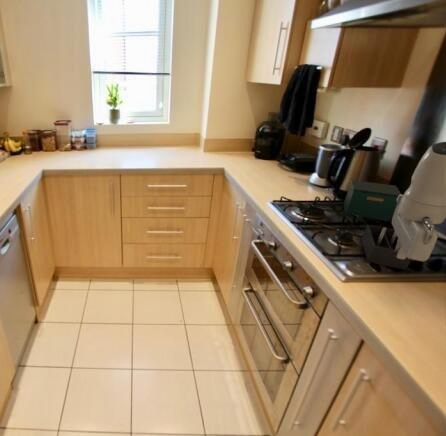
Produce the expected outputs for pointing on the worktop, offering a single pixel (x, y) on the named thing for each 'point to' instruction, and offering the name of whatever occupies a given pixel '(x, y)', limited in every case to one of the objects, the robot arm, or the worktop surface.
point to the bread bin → (371, 200)
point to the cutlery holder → (382, 247)
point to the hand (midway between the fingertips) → (399, 256)
